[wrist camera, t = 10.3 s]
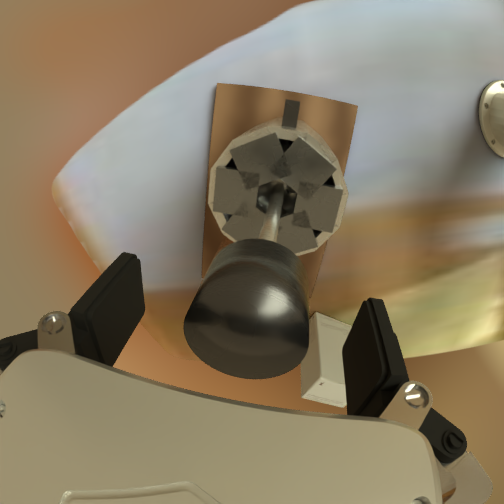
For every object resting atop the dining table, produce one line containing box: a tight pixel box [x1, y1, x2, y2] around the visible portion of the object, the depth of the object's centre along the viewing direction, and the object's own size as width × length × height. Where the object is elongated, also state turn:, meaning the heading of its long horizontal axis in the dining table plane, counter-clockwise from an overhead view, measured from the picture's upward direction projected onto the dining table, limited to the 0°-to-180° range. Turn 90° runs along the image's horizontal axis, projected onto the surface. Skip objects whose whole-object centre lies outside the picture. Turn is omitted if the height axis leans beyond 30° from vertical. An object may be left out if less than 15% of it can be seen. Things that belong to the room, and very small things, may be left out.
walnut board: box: [202, 83, 358, 298], centre depth 40 cm, size 18×30×1 cm, turn 173°
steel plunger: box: [184, 144, 309, 379], centre depth 18 cm, size 8×8×19 cm
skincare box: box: [301, 312, 352, 408], centre depth 45 cm, size 8×6×15 cm
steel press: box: [208, 99, 348, 256], centre depth 29 cm, size 11×13×17 cm
